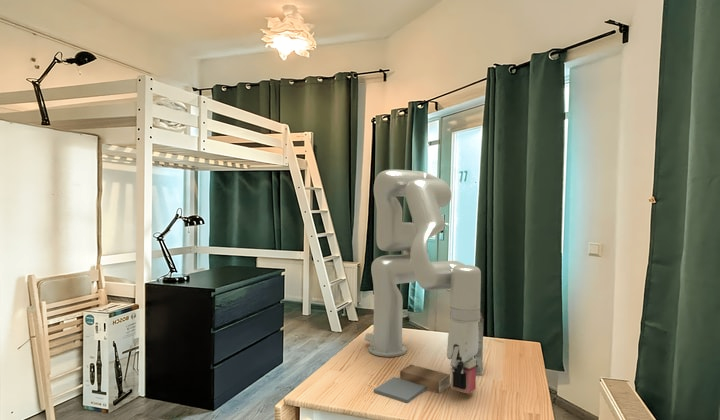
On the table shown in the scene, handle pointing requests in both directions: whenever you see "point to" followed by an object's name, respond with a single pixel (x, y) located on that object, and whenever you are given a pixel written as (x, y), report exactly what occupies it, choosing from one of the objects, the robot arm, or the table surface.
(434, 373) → the bronze rectangular slab
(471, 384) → the small box
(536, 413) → the table surface
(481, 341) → the coffee box
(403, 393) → the slate pad
